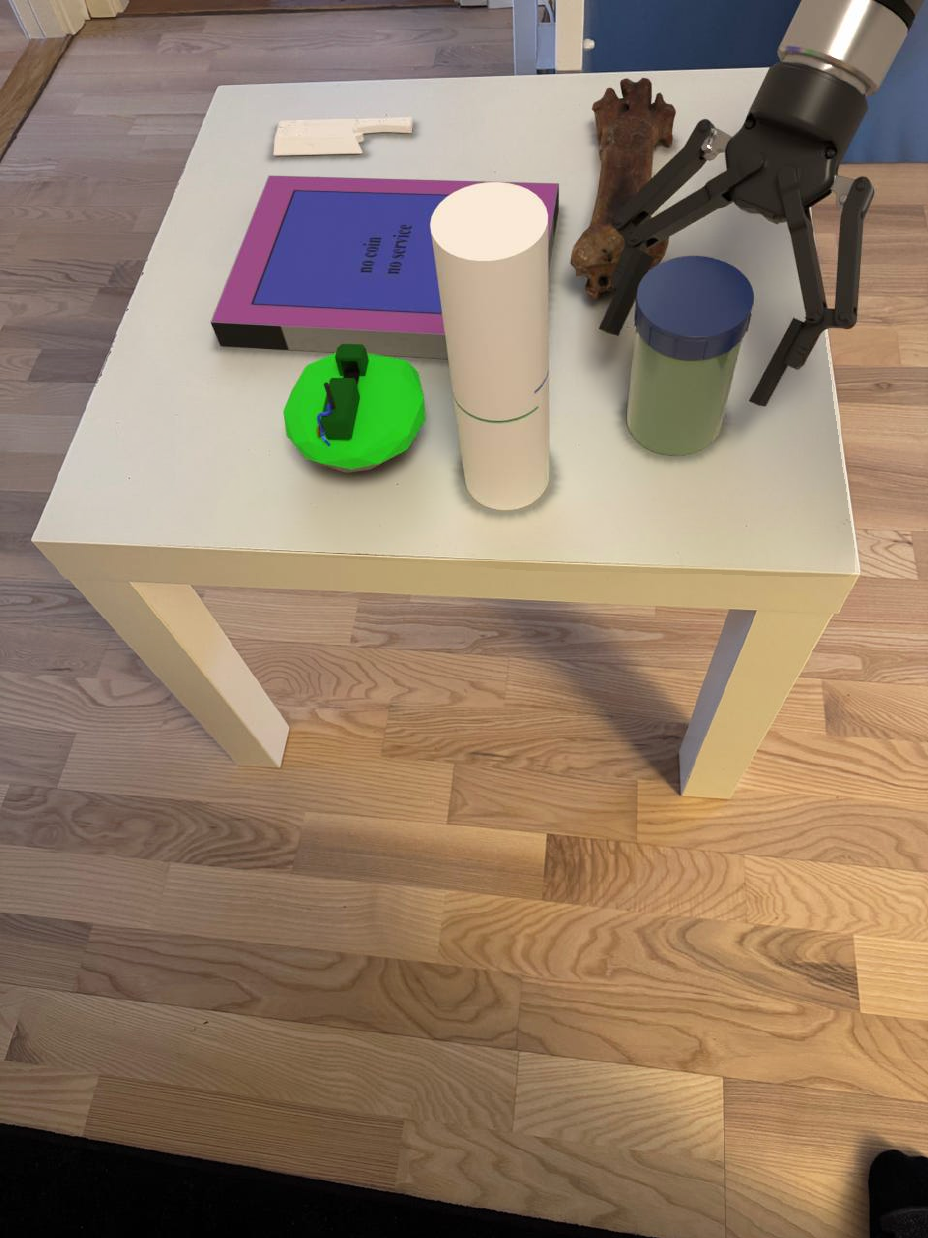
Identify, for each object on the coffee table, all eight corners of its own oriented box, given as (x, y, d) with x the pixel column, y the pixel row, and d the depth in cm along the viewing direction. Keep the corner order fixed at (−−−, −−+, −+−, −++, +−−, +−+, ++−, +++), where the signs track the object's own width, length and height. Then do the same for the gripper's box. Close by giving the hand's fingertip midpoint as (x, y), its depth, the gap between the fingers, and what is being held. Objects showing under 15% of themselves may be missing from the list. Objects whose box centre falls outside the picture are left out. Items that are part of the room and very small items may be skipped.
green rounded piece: (422, 501, 77) (404, 412, 67) (287, 496, 78) (250, 408, 69) (440, 392, 83) (424, 295, 73) (313, 389, 84) (282, 294, 74)
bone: (681, 42, 92) (667, 231, 77) (680, 124, 99) (667, 312, 84) (592, 52, 94) (561, 237, 79) (597, 131, 101) (569, 315, 86)
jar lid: (769, 307, 69) (776, 283, 67) (709, 377, 66) (714, 353, 64) (673, 265, 72) (677, 240, 70) (612, 330, 69) (614, 306, 67)
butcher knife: (407, 153, 99) (406, 143, 98) (273, 156, 101) (270, 147, 100) (413, 123, 102) (411, 113, 101) (282, 126, 104) (279, 117, 103)
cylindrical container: (565, 462, 78) (569, 202, 56) (521, 523, 75) (508, 275, 53) (493, 430, 80) (470, 169, 58) (448, 489, 77) (407, 238, 55)
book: (532, 339, 81) (210, 322, 85) (533, 363, 83) (220, 346, 88) (558, 183, 90) (268, 175, 95) (558, 209, 93) (276, 200, 97)
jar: (739, 409, 79) (771, 289, 67) (688, 470, 76) (712, 356, 65) (660, 370, 82) (677, 248, 70) (608, 427, 79) (617, 311, 68)
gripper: (998, 153, 63) (833, 437, 71) (684, 48, 72) (570, 310, 80) (997, 120, 57) (816, 436, 65) (653, 9, 66) (532, 299, 74)
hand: (680, 367), depth 73 cm, fingers open, 13 cm apart
